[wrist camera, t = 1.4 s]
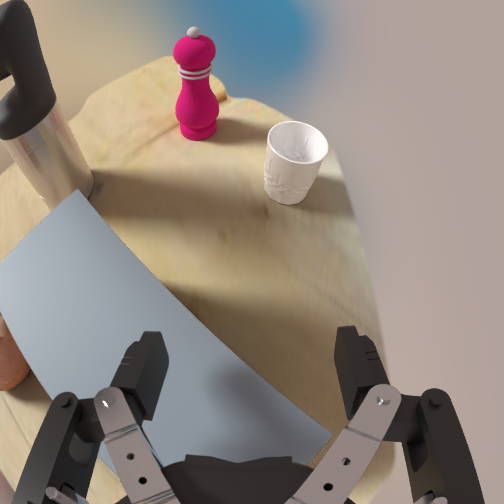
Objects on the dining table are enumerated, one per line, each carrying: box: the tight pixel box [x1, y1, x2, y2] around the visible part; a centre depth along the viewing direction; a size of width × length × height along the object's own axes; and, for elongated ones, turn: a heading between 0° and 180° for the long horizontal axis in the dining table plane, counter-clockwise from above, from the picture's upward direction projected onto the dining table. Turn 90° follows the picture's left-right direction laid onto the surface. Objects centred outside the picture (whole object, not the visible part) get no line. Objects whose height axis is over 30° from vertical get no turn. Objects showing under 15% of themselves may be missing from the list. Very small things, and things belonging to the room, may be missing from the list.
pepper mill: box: [173, 27, 219, 140], centre depth 41 cm, size 7×7×20 cm
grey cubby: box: [0, 189, 333, 477], centre depth 24 cm, size 11×24×19 cm, turn 48°
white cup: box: [264, 121, 328, 205], centre depth 41 cm, size 8×8×10 cm
